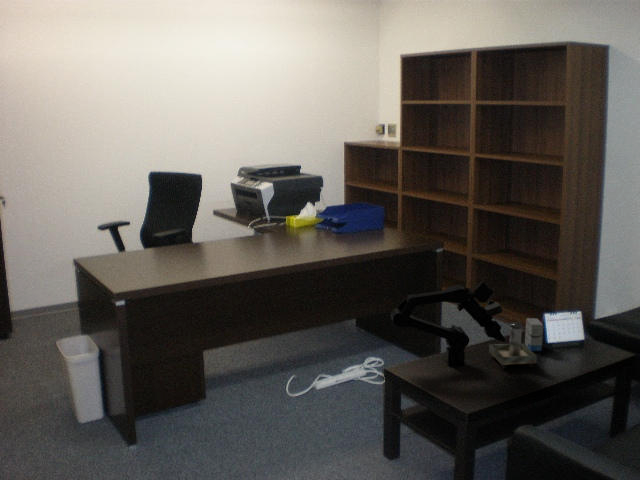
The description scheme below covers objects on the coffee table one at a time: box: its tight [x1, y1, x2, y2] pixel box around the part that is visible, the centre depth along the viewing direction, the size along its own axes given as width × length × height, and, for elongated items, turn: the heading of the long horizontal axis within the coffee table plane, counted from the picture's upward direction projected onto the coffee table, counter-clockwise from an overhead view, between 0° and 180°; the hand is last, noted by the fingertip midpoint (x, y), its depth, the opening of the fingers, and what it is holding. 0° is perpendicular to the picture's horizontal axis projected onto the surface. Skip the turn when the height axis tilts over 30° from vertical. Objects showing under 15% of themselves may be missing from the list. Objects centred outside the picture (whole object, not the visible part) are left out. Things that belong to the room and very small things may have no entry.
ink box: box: [524, 317, 544, 352], centre depth 277 cm, size 8×5×12 cm, turn 179°
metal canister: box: [508, 321, 523, 357], centre depth 261 cm, size 5×5×13 cm
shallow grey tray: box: [488, 342, 537, 369], centre depth 262 cm, size 14×14×5 cm
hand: (501, 336), depth 261 cm, fingers open, 9 cm apart
